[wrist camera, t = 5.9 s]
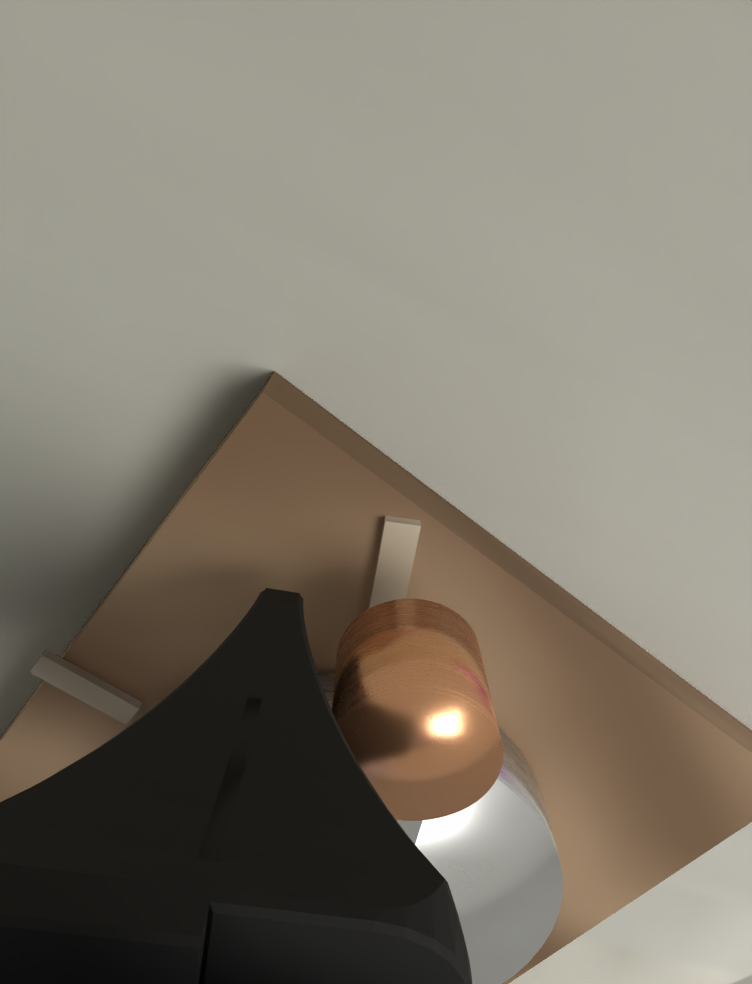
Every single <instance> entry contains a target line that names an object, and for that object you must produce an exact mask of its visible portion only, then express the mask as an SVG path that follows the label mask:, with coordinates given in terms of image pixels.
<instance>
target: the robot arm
mask: <svg viewBox="0 0 752 984" xmlns="http://www.w3.org/2000/svg"><path fill="white" fill-rule="evenodd" d="M303 601H304V599H303V598H302V596H301V595H300V593H296V592H290V591H283V590H277V589H270V588H266V589H265V590H263V591H262V592H260V594H259V596H258V598H257V599H256V601H255V602H254V604H253V605H252V607H251V608H250V610H249V611H248V612H247V614H246V615H245V616H244V618H243V619H242V620H241V622H240V623H239V624H238V625H237V627H236V628H235V629H234V630H233V631H232V632H231V634H230V635H229V636H228V637H227V638H226V639H225V640H224V641H223V643H222V644H221V645H220V646H219V647H218V648H217V649H216V651H215V652H214V653H213V654H212V655H211V656H210V657H209V658H208V659H207V660H206V661H205V662H204V663H203V664H202V665H201V666H200V667H199V668H198V669H197V670H196V671H195V672H194V673H193V674H192V675H190V676H189V677H188V678H187V679H186V680H185V681H184V682H183V683H182V684H181V685H180V686H179V687H178V688H176V689H175V690H174V691H173V692H172V693H171V694H170V695H168V696H167V697H166V698H165V699H164V700H162V701H161V702H160V703H159V704H157V705H156V706H155V707H154V708H153V709H151V710H150V711H149V712H148V713H146V714H145V715H144V716H142V717H141V718H140V719H138V720H137V721H135V722H134V723H133V724H131V725H130V726H129V727H127V728H126V729H124V730H123V731H122V732H120V733H119V734H118V735H116V736H115V737H113V738H112V739H110V740H109V741H107V742H106V743H104V744H103V745H101V746H100V747H98V748H97V749H95V750H94V751H92V752H90V753H89V754H87V755H85V756H84V757H82V758H80V759H79V760H77V761H75V762H74V763H72V764H70V765H69V766H67V767H65V768H64V769H62V770H60V771H59V772H57V773H55V774H54V775H52V776H50V777H49V778H47V779H45V780H43V781H41V782H40V783H38V784H36V785H34V786H32V787H31V788H28V789H26V790H24V791H22V792H20V793H18V794H16V795H14V796H12V797H10V798H8V799H6V800H4V801H2V802H0V984H472V974H471V967H470V961H469V956H468V952H467V947H466V943H465V939H464V934H463V931H462V927H461V923H460V920H459V916H458V912H457V909H456V906H455V903H454V900H453V897H452V893H451V890H450V888H449V885H448V882H447V881H446V879H445V878H444V877H443V876H442V875H441V874H440V873H439V871H438V870H437V869H436V868H435V867H434V866H433V865H432V864H431V862H430V861H429V860H428V859H427V858H426V857H425V856H424V854H423V853H422V852H421V851H420V850H419V849H418V848H417V846H416V845H415V844H414V843H413V842H412V840H411V839H410V838H409V837H408V835H407V834H406V833H405V831H404V830H403V829H402V827H401V826H400V825H399V823H398V822H397V821H396V819H395V818H394V817H393V815H392V814H391V813H390V811H389V810H388V808H387V807H386V805H385V804H384V802H383V801H382V799H381V798H380V796H379V795H378V793H377V792H376V790H375V789H374V787H373V785H372V784H371V782H370V781H369V779H368V778H367V776H366V775H365V773H364V772H363V770H362V769H361V767H360V765H359V763H358V762H357V760H356V758H355V756H354V754H353V753H352V751H351V749H350V747H349V745H348V743H347V741H346V739H345V737H344V735H343V733H342V731H341V729H340V727H339V725H338V723H337V721H336V719H335V717H334V714H333V712H332V710H331V707H330V705H329V703H328V700H327V697H326V695H325V692H324V690H323V687H322V684H321V681H320V679H319V676H318V673H317V669H316V666H315V663H314V659H313V656H312V653H311V649H310V645H309V641H308V637H307V632H306V627H305V620H304V612H303Z"/></svg>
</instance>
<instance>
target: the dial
mask: <svg viewBox="0 0 752 984" xmlns="http://www.w3.org/2000/svg"><path fill="white" fill-rule="evenodd" d="M318 676H319V679H320V681H321V684H322V687H323V690H324V692H325V695H326V697H327V700H328V703H329V705H330V707H331V710H332V712H333V714H334V717H335V719H336V721H337V723H338V725H339V727H340V729H341V731H342V733H343V735H344V737H345V739H346V741H347V743H348V745H349V747H350V749H351V751H352V753H353V754H354V756H355V758H356V760H357V762H358V763H359V765H360V767H361V769H362V770H363V772H364V773H365V775H366V776H367V778H368V779H369V781H370V782H371V784H372V785H373V787H374V789H375V790H376V792H377V793H378V795H379V796H380V798H381V799H382V801H383V802H384V804H385V805H386V807H387V808H388V810H389V811H390V813H391V814H392V815H393V817H394V818H395V819H396V821H397V822H398V823H399V825H400V826H401V827H402V829H403V830H404V831H405V833H406V834H407V835H408V837H409V838H410V839H411V840H412V842H413V843H414V844H415V845H416V846H417V848H418V849H419V850H420V851H421V852H422V853H423V854H424V856H425V857H426V858H427V859H428V860H429V861H430V862H431V864H432V865H433V866H434V867H435V868H436V869H437V870H438V871H439V873H440V874H441V875H442V876H443V877H444V878H445V879H446V881H447V882H448V885H449V888H450V890H451V893H452V897H453V900H454V903H455V906H456V909H457V912H458V916H459V920H460V923H461V927H462V931H463V934H464V939H465V943H466V947H467V952H468V956H469V961H470V967H471V974H472V984H503V983H504V982H506V981H507V980H508V979H510V978H511V977H513V976H514V975H515V974H516V973H517V972H518V971H520V970H521V969H522V968H523V967H524V966H525V965H526V964H527V963H529V961H530V960H531V959H532V958H533V957H534V956H535V954H536V953H537V952H538V951H539V950H540V949H541V947H542V946H543V944H544V943H545V941H546V939H547V938H548V936H549V935H550V933H551V931H552V929H553V927H554V924H555V922H556V919H557V917H558V914H559V911H560V906H561V901H562V896H563V874H562V869H561V864H560V860H559V855H558V851H557V848H556V844H555V841H554V837H553V833H552V830H551V826H550V823H549V819H548V815H547V812H546V808H545V805H544V801H543V798H542V794H541V790H540V787H539V784H538V782H537V779H536V777H535V774H534V772H533V770H532V767H531V766H530V764H529V763H528V761H527V760H526V758H525V756H524V755H523V753H522V752H521V750H520V749H519V748H518V747H517V746H516V744H515V743H514V742H513V741H512V740H511V739H510V738H509V737H508V736H507V734H506V733H505V732H504V731H502V730H501V729H500V728H499V727H498V724H497V720H496V715H495V711H494V707H493V703H492V698H491V694H490V690H489V685H488V681H487V677H486V672H485V668H484V664H483V659H482V655H481V651H480V647H479V642H478V639H477V637H476V634H475V632H474V631H473V629H472V628H471V626H470V625H469V624H468V622H467V621H466V620H465V619H464V618H463V617H462V616H460V615H459V614H458V613H456V612H455V611H453V610H452V609H450V608H448V607H446V606H444V605H442V604H439V603H436V602H433V601H428V600H423V599H396V600H391V601H387V602H384V603H381V604H378V605H375V606H373V607H371V608H369V609H367V610H366V611H364V612H363V613H361V614H360V615H359V616H357V617H356V618H355V619H354V620H353V621H352V622H351V623H350V624H349V625H348V626H347V628H346V629H345V631H344V632H343V634H342V636H341V638H340V640H339V644H338V647H337V654H336V665H335V674H318Z"/></svg>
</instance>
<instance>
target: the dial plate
mask: <svg viewBox="0 0 752 984" xmlns="http://www.w3.org/2000/svg"><path fill="white" fill-rule="evenodd" d="M266 588H270V589H277V590H283V591H290V592H296V593H300V595H301V596H302V598H303V599H304V601H303V612H304V620H305V627H306V632H307V637H308V641H309V645H310V649H311V653H312V656H313V659H314V663H315V666H316V669H317V673H318V674H335V665H336V654H337V647H338V644H339V640H340V638H341V636H342V634H343V632H344V631H345V629H346V628H347V626H348V625H349V624H350V623H351V622H352V621H353V620H354V619H355V618H356V617H357V616H359V615H360V614H361V613H363V612H364V611H366V610H367V609H369V608H371V607H373V606H375V605H378V604H381V603H384V602H387V601H391V600H396V599H423V600H428V601H433V602H436V603H439V604H442V605H444V606H446V607H448V608H450V609H452V610H453V611H455V612H456V613H458V614H459V615H460V616H462V617H463V618H464V619H465V620H466V621H467V622H468V624H469V625H470V626H471V628H472V629H473V631H474V632H475V634H476V637H477V639H478V642H479V647H480V651H481V655H482V659H483V664H484V668H485V672H486V677H487V681H488V685H489V690H490V694H491V698H492V703H493V707H494V711H495V715H496V720H497V724H498V727H499V728H500V729H501V730H502V731H504V732H505V733H506V734H507V736H508V737H509V738H510V739H511V740H512V741H513V742H514V743H515V744H516V746H517V747H518V748H519V749H520V750H521V752H522V753H523V755H524V756H525V758H526V760H527V761H528V763H529V764H530V766H531V767H532V770H533V772H534V774H535V777H536V779H537V782H538V784H539V787H540V790H541V794H542V798H543V801H544V805H545V808H546V812H547V815H548V819H549V823H550V826H551V830H552V833H553V837H554V841H555V844H556V848H557V851H558V855H559V860H560V864H561V869H562V874H563V896H562V901H561V906H560V911H559V914H558V917H557V919H556V922H555V924H554V927H553V929H552V931H551V933H550V935H549V936H548V938H547V939H546V941H545V943H544V944H543V946H542V947H541V949H540V950H539V951H538V952H537V953H536V954H535V956H534V957H533V958H532V959H531V960H530V961H529V963H527V964H526V965H525V966H524V967H523V968H522V969H521V970H520V971H518V972H517V973H516V974H515V975H514V976H513V977H511V978H510V979H508V980H507V981H506V982H504V983H503V984H508V983H510V982H511V981H513V980H514V979H516V978H517V977H519V976H520V975H522V974H523V973H525V972H526V971H528V970H529V969H531V968H532V967H534V966H535V965H537V964H538V963H540V962H541V961H543V960H544V959H546V958H547V957H549V956H550V955H552V954H553V953H555V952H556V951H558V950H559V949H561V948H562V947H564V946H565V945H567V944H569V943H570V942H572V941H573V940H575V939H576V938H578V937H579V936H581V935H582V934H584V933H585V932H587V931H588V930H590V929H591V928H593V927H594V926H596V925H597V924H599V923H600V922H602V921H603V920H605V919H606V918H608V917H609V916H611V915H612V914H614V913H615V912H617V911H618V910H620V909H621V908H623V907H624V906H626V905H627V904H629V903H630V902H632V901H633V900H635V899H636V898H638V897H639V896H641V895H642V894H644V893H645V892H647V891H648V890H650V889H651V888H653V887H654V886H656V885H657V884H659V883H660V882H662V881H663V880H665V879H666V878H668V877H669V876H671V875H672V874H674V873H675V872H677V871H678V870H680V869H681V868H683V867H684V866H686V865H687V864H689V863H690V862H692V861H693V860H695V859H696V858H698V857H699V856H701V855H702V854H704V853H705V852H707V851H708V850H710V849H711V848H713V847H714V846H716V845H717V844H719V843H720V842H722V841H723V840H725V839H726V838H728V837H729V836H731V835H732V834H734V833H735V832H737V831H738V830H740V829H741V828H743V827H744V826H746V825H747V824H749V823H750V822H752V731H751V730H750V729H749V728H747V727H746V726H745V725H743V724H742V723H741V722H739V721H738V720H737V719H735V718H734V717H733V716H731V715H730V714H729V713H727V712H726V711H725V710H723V709H722V708H721V707H719V706H718V705H717V704H715V703H714V702H713V701H711V700H710V699H709V698H707V697H706V696H705V695H703V694H702V693H701V692H700V691H698V690H697V689H696V688H694V687H693V686H692V685H690V684H689V683H688V682H686V681H685V680H684V679H682V678H681V677H680V676H678V675H677V674H676V673H674V672H673V671H672V670H670V669H669V668H668V667H666V666H665V665H664V664H662V663H661V662H660V661H658V660H657V659H656V658H654V657H653V656H652V655H650V654H649V653H648V652H646V651H645V650H644V649H642V648H641V647H640V646H638V645H637V644H636V643H635V642H633V641H632V640H631V639H629V638H628V637H627V636H625V635H624V634H623V633H621V632H620V631H619V630H617V629H616V628H615V627H613V626H612V625H611V624H609V623H608V622H607V621H605V620H604V619H603V618H601V617H600V616H599V615H597V614H596V613H595V612H593V611H592V610H591V609H589V608H588V607H587V606H585V605H584V604H583V603H581V602H580V601H579V600H577V599H576V598H575V597H573V596H572V595H571V594H569V593H568V592H567V591H566V590H564V589H563V588H562V587H560V586H559V585H558V584H556V583H555V582H554V581H552V580H551V579H550V578H548V577H547V576H546V575H544V574H543V573H542V572H540V571H539V570H538V569H536V568H535V567H534V566H532V565H531V564H530V563H528V562H527V561H526V560H524V559H523V558H522V557H520V556H519V555H518V554H516V553H515V552H514V551H512V550H511V549H510V548H508V547H507V546H506V545H504V544H503V543H502V542H501V541H499V540H498V539H497V538H495V537H494V536H493V535H491V534H490V533H489V532H487V531H486V530H485V529H483V528H482V527H481V526H479V525H478V524H477V523H475V522H474V521H473V520H471V519H470V518H469V517H467V516H466V515H465V514H463V513H462V512H461V511H459V510H458V509H457V508H455V507H454V506H453V505H451V504H450V503H449V502H447V501H446V500H445V499H443V498H442V497H441V496H439V495H438V494H437V493H435V492H434V491H433V490H432V489H430V488H429V487H428V486H426V485H425V484H424V483H422V482H421V481H420V480H418V479H417V478H416V477H414V476H413V475H412V474H410V473H409V472H408V471H406V470H405V469H404V468H402V467H401V466H400V465H398V464H397V463H396V462H394V461H393V460H392V459H390V458H389V457H388V456H386V455H385V454H384V453H382V452H381V451H380V450H378V449H377V448H376V447H374V446H373V445H372V444H370V443H369V442H368V441H367V440H365V439H364V438H363V437H361V436H360V435H359V434H357V433H356V432H355V431H353V430H352V429H351V428H349V427H348V426H347V425H345V424H344V423H343V422H341V421H340V420H339V419H337V418H336V417H335V416H333V415H332V414H331V413H329V412H328V411H327V410H325V409H324V408H323V407H321V406H320V405H319V404H317V403H316V402H315V401H313V400H312V399H311V398H309V397H308V396H307V395H305V394H304V393H303V392H301V391H300V390H299V389H298V388H296V387H295V386H294V385H292V384H291V383H290V382H288V381H287V380H286V379H284V378H283V377H282V376H280V375H279V374H278V373H276V372H274V373H273V374H272V376H271V377H270V378H269V380H268V381H267V382H266V384H265V385H264V386H263V388H262V389H261V390H260V392H259V393H258V394H257V396H256V397H255V398H254V400H253V401H252V402H251V404H250V405H249V406H248V408H247V409H246V410H245V412H244V413H243V414H242V416H241V417H240V418H239V420H238V421H237V422H236V424H235V425H234V426H233V428H232V429H231V430H230V432H229V433H228V434H227V436H226V437H225V438H224V440H223V441H222V442H221V444H220V445H219V446H218V448H217V449H216V450H215V452H214V453H213V454H212V456H211V457H210V458H209V460H208V461H207V462H206V464H205V465H204V466H203V468H202V469H201V470H200V472H199V473H198V474H197V476H196V477H195V478H194V480H193V481H192V482H191V484H190V485H189V486H188V488H187V489H186V490H185V492H184V493H183V494H182V496H181V497H180V498H179V500H178V501H177V502H176V504H175V505H174V506H173V508H172V509H171V510H170V512H169V513H168V514H167V516H166V517H165V518H164V520H163V521H162V522H161V524H160V525H159V526H158V528H157V529H156V530H155V532H154V533H153V535H152V536H151V537H150V539H149V540H148V541H147V543H146V544H145V545H144V547H143V548H142V549H141V551H140V552H139V553H138V555H137V556H136V557H135V559H134V560H133V561H132V563H131V564H130V565H129V567H128V568H127V569H126V571H125V572H124V573H123V575H122V576H121V577H120V579H119V580H118V581H117V583H116V584H115V585H114V587H113V588H112V589H111V591H110V592H109V593H108V595H107V596H106V597H105V599H104V600H103V601H102V603H101V604H100V605H99V607H98V608H97V609H96V611H95V612H94V613H93V615H92V616H91V617H90V619H89V620H88V621H87V623H86V624H85V625H84V627H83V628H82V629H81V631H80V632H79V633H78V635H77V636H76V637H75V639H74V640H73V641H72V643H71V644H70V645H69V647H68V648H67V649H66V651H65V652H64V653H63V655H62V656H61V657H59V656H57V655H56V654H54V653H52V652H50V651H48V650H45V651H44V653H43V654H42V655H41V657H40V658H39V659H38V661H37V662H36V664H35V665H34V666H33V668H32V669H31V670H30V672H29V673H31V674H33V675H35V676H37V677H38V678H40V679H42V680H43V681H42V683H41V684H40V685H39V687H38V688H37V689H36V691H35V692H34V693H33V695H32V696H31V697H30V699H29V700H28V701H27V703H26V704H25V705H24V707H23V708H22V709H21V711H20V712H19V713H18V715H17V716H16V717H15V719H14V720H13V721H12V723H11V724H10V725H9V727H8V728H7V729H6V731H5V732H4V733H3V735H2V736H1V737H0V802H2V801H4V800H6V799H8V798H10V797H12V796H14V795H16V794H18V793H20V792H22V791H24V790H26V789H28V788H31V787H32V786H34V785H36V784H38V783H40V782H41V781H43V780H45V779H47V778H49V777H50V776H52V775H54V774H55V773H57V772H59V771H60V770H62V769H64V768H65V767H67V766H69V765H70V764H72V763H74V762H75V761H77V760H79V759H80V758H82V757H84V756H85V755H87V754H89V753H90V752H92V751H94V750H95V749H97V748H98V747H100V746H101V745H103V744H104V743H106V742H107V741H109V740H110V739H112V738H113V737H115V736H116V735H118V734H119V733H120V732H122V731H123V730H124V729H126V728H127V727H129V726H130V725H131V724H133V723H134V722H135V721H137V720H138V719H140V718H141V717H142V716H144V715H145V714H146V713H148V712H149V711H150V710H151V709H153V708H154V707H155V706H156V705H157V704H159V703H160V702H161V701H162V700H164V699H165V698H166V697H167V696H168V695H170V694H171V693H172V692H173V691H174V690H175V689H176V688H178V687H179V686H180V685H181V684H182V683H183V682H184V681H185V680H186V679H187V678H188V677H189V676H190V675H192V674H193V673H194V672H195V671H196V670H197V669H198V668H199V667H200V666H201V665H202V664H203V663H204V662H205V661H206V660H207V659H208V658H209V657H210V656H211V655H212V654H213V653H214V652H215V651H216V649H217V648H218V647H219V646H220V645H221V644H222V643H223V641H224V640H225V639H226V638H227V637H228V636H229V635H230V634H231V632H232V631H233V630H234V629H235V628H236V627H237V625H238V624H239V623H240V622H241V620H242V619H243V618H244V616H245V615H246V614H247V612H248V611H249V610H250V608H251V607H252V605H253V604H254V602H255V601H256V599H257V598H258V596H259V594H260V592H262V591H263V590H265V589H266Z"/></svg>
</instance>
